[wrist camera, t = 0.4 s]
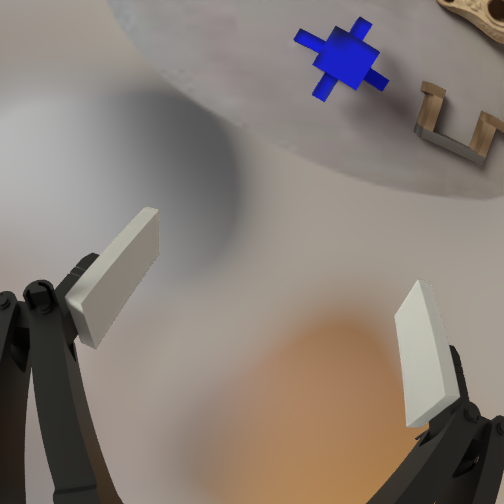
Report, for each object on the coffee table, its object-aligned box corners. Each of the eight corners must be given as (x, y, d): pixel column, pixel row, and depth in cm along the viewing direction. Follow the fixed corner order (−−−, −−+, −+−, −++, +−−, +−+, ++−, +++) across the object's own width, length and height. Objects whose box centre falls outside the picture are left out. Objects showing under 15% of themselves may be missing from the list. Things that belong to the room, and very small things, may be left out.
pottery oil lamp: (427, -36, 19) (447, -51, 13) (507, -7, 17) (536, -12, 11) (432, 25, 24) (455, 19, 18) (511, 51, 22) (541, 54, 16)
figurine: (376, 84, 30) (402, 94, 21) (315, 96, 33) (314, 110, 23) (358, 24, 27) (377, 8, 17) (295, 37, 29) (285, 25, 19)
